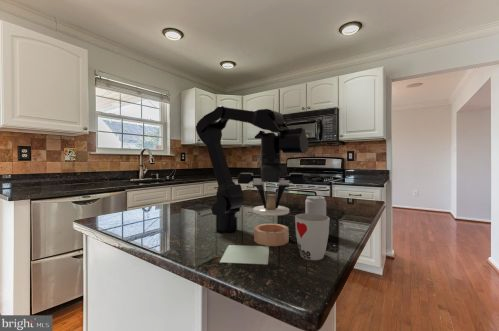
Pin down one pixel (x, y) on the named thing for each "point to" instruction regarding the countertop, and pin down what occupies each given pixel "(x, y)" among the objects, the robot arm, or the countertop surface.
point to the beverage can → (315, 205)
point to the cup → (312, 235)
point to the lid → (271, 207)
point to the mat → (246, 254)
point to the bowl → (271, 234)
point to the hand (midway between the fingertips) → (270, 208)
